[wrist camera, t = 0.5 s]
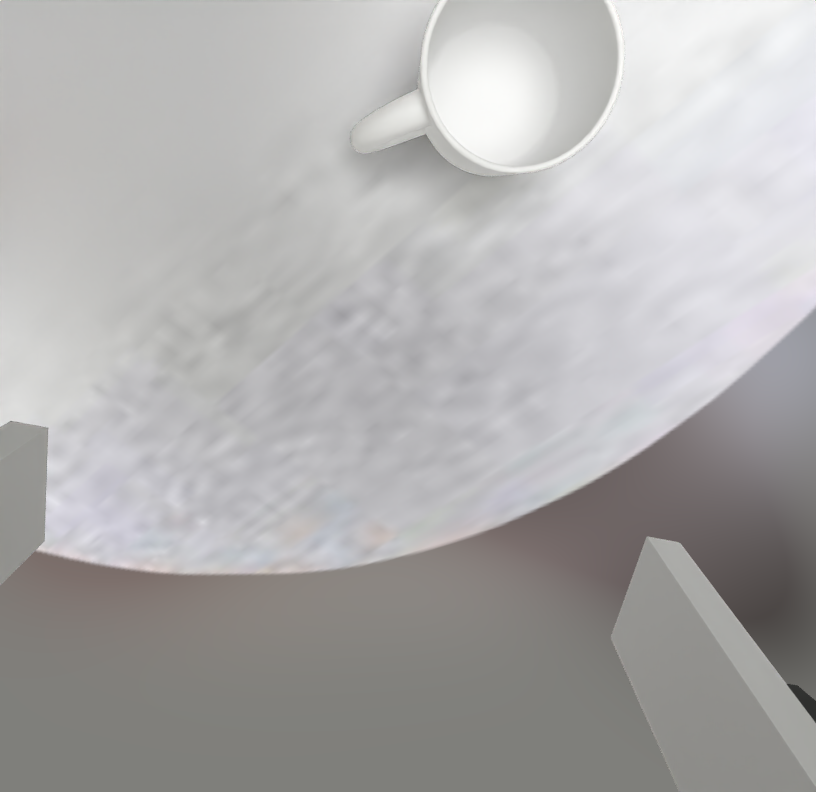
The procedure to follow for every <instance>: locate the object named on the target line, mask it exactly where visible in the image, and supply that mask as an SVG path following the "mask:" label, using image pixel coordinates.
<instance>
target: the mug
mask: <svg viewBox="0 0 816 792" xmlns="http://www.w3.org/2000/svg"><path fill="white" fill-rule="evenodd" d="M624 64H625V43H624V36H623V29H622V26H621V22H620V18H619V15H618V12H617V10H616V8H615V5H614V3H613V1H612V0H439V1H438V2H437V4H436V6H435V8H434V10H433V12H432V14H431V16H430V19H429V22H428V24H427V27H426V30H425V34H424V38H423V42H422V49H421V57H420V67H419V76H418V85H417V89H416V90H414V91H412V92H410V93H407V94H405V95H403V96H401V97H399V98H397V99H395V100H393V101H391V102H390V103H388V104H386V105H384V106H382V107H381V108H379V109H377V110H375V111H374V112H372V113H371V114H369V115H368V116H366V117H365V118H363V119H362V120H361V121H359V122H358V123H357V124H356V125H355V126H354V128H353V129H352V131H351V134H350V141H351V145H352V146H353V148H354V149H355V150H356V151H357V152H359V153H363V154H367V153H372V152H376V151H380V150H383V149H386V148H389V147H392V146H394V145H397V144H400V143H403V142H405V141H408V140H411V139H414V138H417V137H419V136H422V135H425V134H426V135H427V137H428V139H429V140H430V142H431V143H432V144H433V146H434V147H435V149H436V150H437V151H438V152H439V153H440V154H441V156H442V157H444V158H445V159H446V160H447V161H448V162H449V163H451V164H452V165H454V166H456V167H457V168H459V169H461V170H464V171H466V172H468V173H472V174H475V175H481V176H505V175H515V174H524V173H531V172H538V171H541V170H545V169H548V168H551V167H553V166H556V165H558V164H560V163H562V162H564V161H565V160H567V159H569V158H571V157H572V156H574V155H575V154H576V153H578V152H579V151H580V150H581V149H583V148H584V147H585V146H586V145H587V144H588V143H589V142H590V141H591V140H592V139H593V138H594V137H595V136H596V134H597V133H598V132H599V130H600V129H601V128H602V127H603V125H604V123H605V122H606V120H607V118H608V117H609V115H610V113H611V111H612V109H613V107H614V105H615V103H616V100H617V97H618V94H619V91H620V88H621V84H622V79H623V74H624Z"/></svg>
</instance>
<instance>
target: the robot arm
mask: <svg viewBox="0 0 816 792" xmlns="http://www.w3.org/2000/svg"><path fill="white" fill-rule="evenodd" d="M47 447H48V428H46V427H41V426H35V425H30V424H24V423H19V422H13V421H10V422H9V423H7V424H5V425H4V426H2V427H0V585H1V584H2V583H3V582H4V581H5V580H6V579H7V578H8V577H9V576H10V575H11V574H12V573H13V572H14V571H15V570H16V569H17V568H18V567H19V566H20V565H21V564H22V563H23V562H24V561H25V560H26V559H27V558H28V557H29V556H30V555H31V554H32V553H33V552H34V551H35V550H36V549H37V548H38V547H39V546H40V545H41V544H42V543H43V542H44V541H45V510H46V479H47ZM611 640H612V642H613V644H614V647H615V649H616V651H617V653H618V656H619V658H620V660H621V662H622V665H623V667H624V669H625V671H626V674H627V676H628V678H629V680H630V683H631V685H632V687H633V689H634V692H635V694H636V696H637V698H638V700H639V703H640V705H641V707H642V710H643V712H644V714H645V716H646V719H647V721H648V723H649V725H650V728H651V729H652V732H653V734H654V736H655V739H656V741H657V743H658V745H659V748H660V750H661V752H662V754H663V757H664V759H665V761H666V763H667V766H668V768H669V770H670V772H671V775H672V777H673V779H674V781H675V784H676V786H677V788H678V790H679V792H816V701H815V700H814V699H813V698H812V697H810V696H809V695H808V694H807V693H805V692H804V691H803V690H802V689H801V688H800V687H799V686H797V685H791V684H786V683H785V682H784V680H783V679H782V678H781V676H780V675H779V674H778V672H777V671H776V670H775V668H774V667H773V666H772V664H771V663H770V662H769V660H768V659H767V658H766V656H765V655H764V654H763V652H762V651H761V650H760V648H759V647H758V646H757V645H756V643H755V642H754V640H753V639H752V638H751V637H750V635H749V634H748V633H747V631H746V630H745V629H744V627H743V626H742V625H741V623H740V622H739V621H738V619H737V618H736V617H735V615H734V614H733V613H732V611H731V610H730V609H729V607H728V606H727V605H726V604H725V602H724V601H723V599H722V598H721V597H720V595H719V594H718V593H717V591H716V590H715V589H714V588H713V586H712V585H711V583H710V582H709V581H708V579H707V578H706V577H705V576H704V574H703V573H702V572H701V570H700V569H699V568H698V566H697V565H696V564H695V562H694V561H693V560H692V558H691V557H690V556H689V554H688V553H687V552H686V550H685V549H684V548H683V546H682V545H681V544H680V543H679V542H674V541H669V540H663V539H658V538H652V537H646V540H645V543H644V546H643V549H642V551H641V554H640V557H639V560H638V563H637V565H636V568H635V571H634V574H633V576H632V579H631V582H630V585H629V588H628V590H627V593H626V596H625V599H624V602H623V605H622V607H621V610H620V613H619V616H618V618H617V621H616V624H615V627H614V629H613V632H612V635H611Z"/></svg>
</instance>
